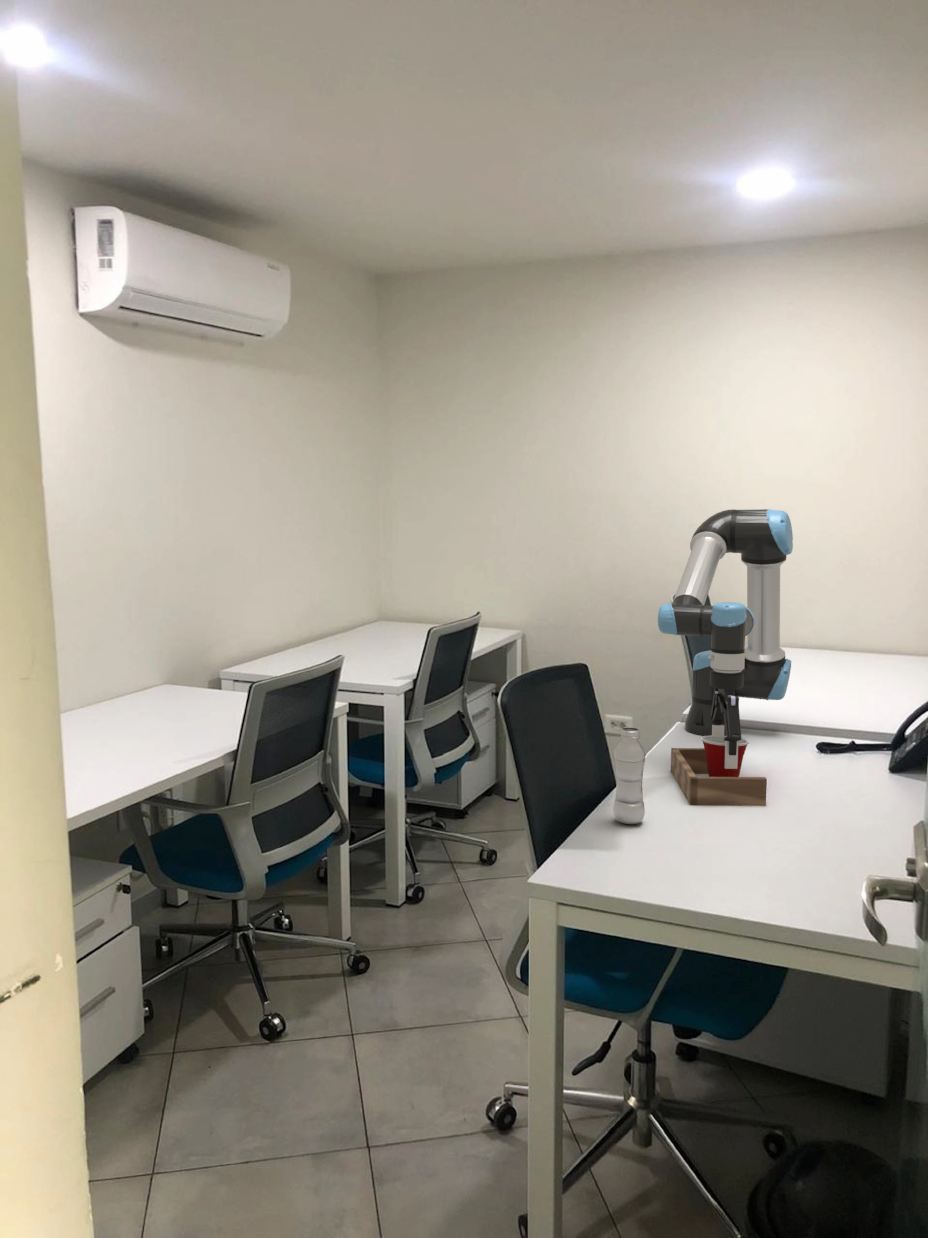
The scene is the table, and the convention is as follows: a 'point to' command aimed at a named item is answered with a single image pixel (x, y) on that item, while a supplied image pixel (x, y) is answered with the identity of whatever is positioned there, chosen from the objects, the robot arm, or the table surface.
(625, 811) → the plastic bottle
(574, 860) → the table surface
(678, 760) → the box
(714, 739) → the plastic cup
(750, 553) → the robot arm
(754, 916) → the table surface
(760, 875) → the table surface
